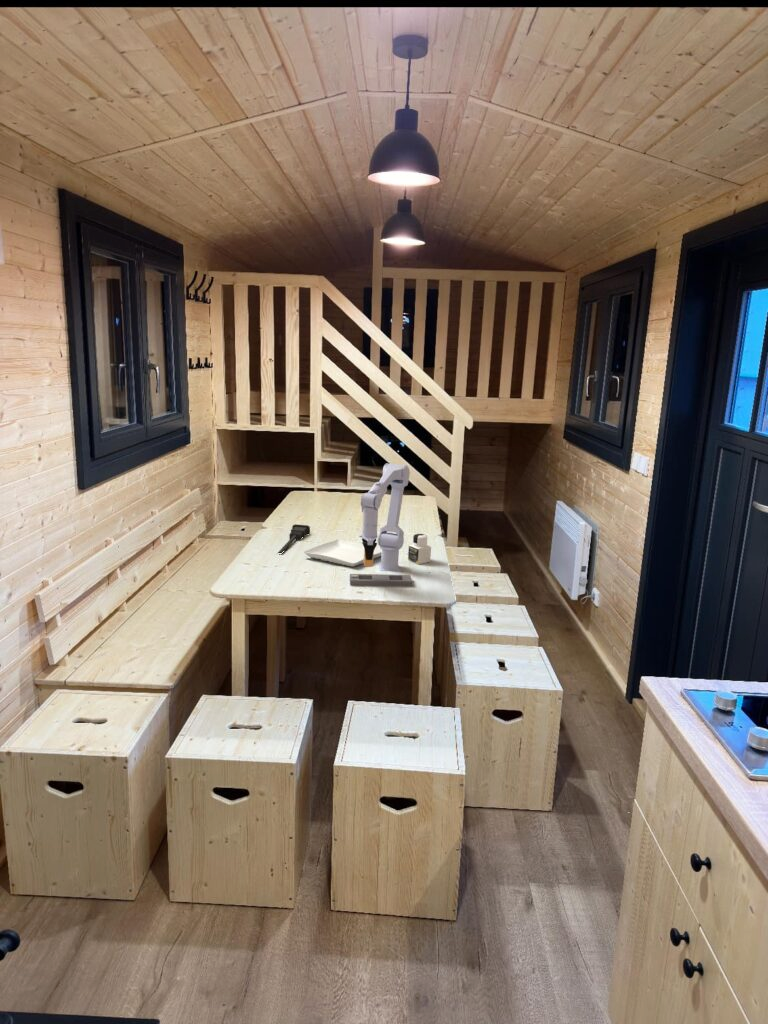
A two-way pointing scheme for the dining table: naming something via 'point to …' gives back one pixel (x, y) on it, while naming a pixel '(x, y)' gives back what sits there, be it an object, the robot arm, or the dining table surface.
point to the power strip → (380, 580)
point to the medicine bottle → (419, 550)
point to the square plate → (341, 552)
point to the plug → (368, 561)
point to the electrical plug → (296, 534)
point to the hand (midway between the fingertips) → (368, 558)
